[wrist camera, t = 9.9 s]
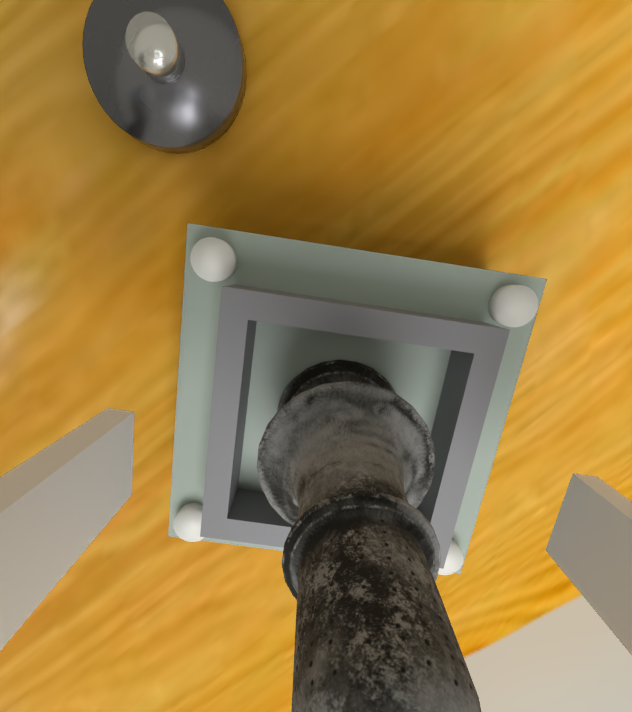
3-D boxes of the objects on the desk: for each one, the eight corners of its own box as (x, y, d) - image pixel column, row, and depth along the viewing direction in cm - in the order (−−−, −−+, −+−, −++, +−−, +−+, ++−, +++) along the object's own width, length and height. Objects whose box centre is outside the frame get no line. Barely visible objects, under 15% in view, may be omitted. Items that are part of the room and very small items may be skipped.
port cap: (96, 141, 17) (64, 122, 15) (97, -33, 16) (61, -82, 13) (238, 164, 17) (227, 149, 15) (254, -6, 16) (243, -50, 14)
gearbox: (199, 510, 22) (146, 617, 15) (222, 236, 18) (165, 214, 11) (420, 539, 22) (465, 657, 16) (487, 277, 19) (585, 280, 12)
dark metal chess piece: (412, 352, 14) (841, 751, 3) (403, 479, 16) (648, 1079, 4) (267, 352, 14) (63, 756, 3) (271, 480, 16) (155, 1088, 4)
